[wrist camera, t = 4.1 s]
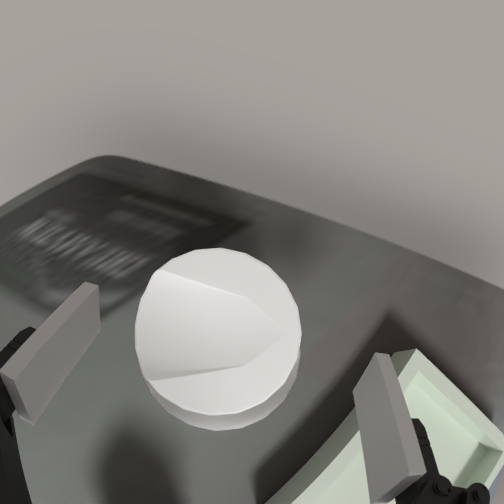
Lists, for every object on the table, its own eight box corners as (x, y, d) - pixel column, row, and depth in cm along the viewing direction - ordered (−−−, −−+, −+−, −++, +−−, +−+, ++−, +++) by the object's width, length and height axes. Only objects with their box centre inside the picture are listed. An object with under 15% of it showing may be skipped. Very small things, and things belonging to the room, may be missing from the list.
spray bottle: (264, 405, 22) (373, 483, 5) (171, 399, 21) (50, 463, 5) (267, 316, 24) (366, 191, 8) (177, 310, 24) (89, 172, 7)
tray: (256, 510, 19) (262, 529, 15) (394, 352, 24) (416, 348, 21) (387, 574, 16) (402, 589, 12) (490, 442, 21) (513, 445, 18)
